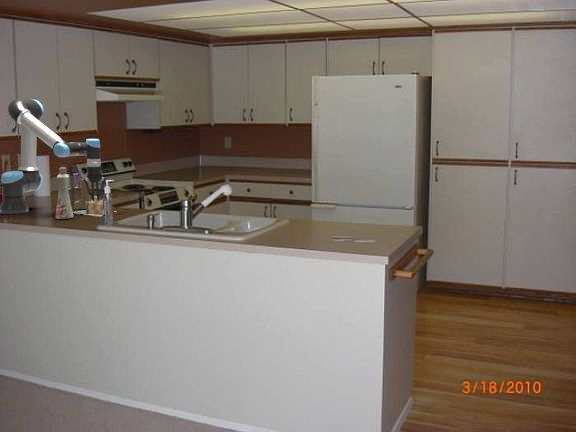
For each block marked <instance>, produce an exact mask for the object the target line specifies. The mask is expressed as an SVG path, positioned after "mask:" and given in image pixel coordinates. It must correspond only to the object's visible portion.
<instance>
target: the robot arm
mask: <svg viewBox="0 0 576 432" xmlns="http://www.w3.org/2000/svg"><path fill="white" fill-rule="evenodd" d="M7 113H8V115H9V117H10V118H11V119H12V120H13V121H14V122H15V123H17V124H18V125H20V166H19V167H18V168H17V170H12V171H11V170H10V171H6V172H3V173H2V174H1V179H0V182H1V194H2V202H1V204H0V214H3V215H15V214H16V215H17V214H19V215H20V214H24V213H28V212H29V206H28V204H27V202H26V198H25V193H32V192H35V191H38V190H39V189H40V188H41V187H42V185H43V183H44V179H43V178H44V177H43V175H42V173H40V169H39V168H38V167H37V147H38V146H37V144H38V143H37V141H38V140H37V138H38V139H40V141H42V142H43V143H45V144H46V145H47V146H48V147H50V148H51V149H52V150H53V153H54V155H55V156H56V157H58V158H68V157H78V156H86V164H87V165H86V166H87V167H86V168H87V169H86V170H87V174H86V177H85V178H82V179H83V180H84V182H85V184H86V187H87V191H88V194H89V195H90V197H91V200H93V201H98V200H100V196H101V195H103V191H104V185H105V182H106V181H107V178H106V177H104V176H103V175H102V167H101V165H102V160H101V159H102V158H101V142H100V141H101V140H100V139H99V138H86V141H85V142H83V141H82V142H79V141H77V142H76V141H72V142H66V141H65V140H64V139H63V138H61V137H60V136H59V135H57V133H55V132H54V131H52V130H51V129H50V128H49V127H48V126H46V125H45V124H44V123H42V122H41V120H40V119H42V117H43V116H44V114H45V110H44V106H43V104H41V102H40V101H39V100H36V99H33V98H15V99H13V100H11V101H10V103H9V104H8V105H7ZM87 179H89V180H90V189H89V186H88V183H87V181H88V180H87ZM100 181H101V184H100V185H99V182H100ZM94 184H95V185H94ZM99 186H100V187H99ZM99 189H100V190H99ZM95 190H96V191H95ZM95 192H96V193H95Z"/></svg>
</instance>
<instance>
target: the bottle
mask: <svg viewBox="0 0 576 432" xmlns="http://www.w3.org/2000/svg"><path fill="white" fill-rule="evenodd" d="M56 180H57V185H58V195H57V203H56V209H55V210H56V211H55V218H56V219H57V220H68V219H72V218H74V214H73V212H74V211H73V208H72V203H71V199H70V198H71V197H70V195H69V183H70V182H69V181H70V176H69V175H68V174H67V167H64V166H61V167H59V174H58V175H57V176H56Z"/></svg>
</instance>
